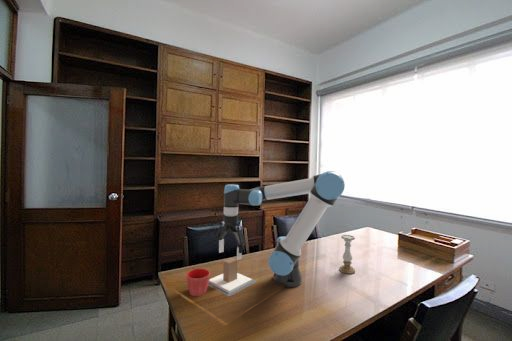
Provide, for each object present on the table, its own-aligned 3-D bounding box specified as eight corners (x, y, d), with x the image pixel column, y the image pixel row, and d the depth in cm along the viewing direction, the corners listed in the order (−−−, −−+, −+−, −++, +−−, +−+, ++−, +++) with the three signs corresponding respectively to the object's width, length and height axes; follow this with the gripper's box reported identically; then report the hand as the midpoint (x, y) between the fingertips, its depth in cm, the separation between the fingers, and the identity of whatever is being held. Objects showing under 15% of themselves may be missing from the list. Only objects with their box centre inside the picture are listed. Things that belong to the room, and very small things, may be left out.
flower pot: (204, 300, 111) (204, 279, 110) (182, 297, 113) (182, 277, 113) (213, 289, 121) (213, 269, 121) (192, 286, 123) (192, 267, 123)
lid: (252, 281, 128) (252, 260, 128) (229, 293, 116) (229, 269, 116) (231, 272, 138) (231, 252, 138) (208, 282, 126) (208, 260, 126)
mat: (257, 282, 128) (257, 281, 128) (228, 298, 113) (229, 296, 113) (231, 271, 141) (231, 269, 141) (202, 283, 126) (202, 282, 126)
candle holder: (356, 274, 139) (357, 239, 138) (340, 273, 141) (341, 238, 140) (353, 268, 148) (354, 235, 147) (338, 267, 149) (339, 233, 149)
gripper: (253, 217, 121) (252, 260, 121) (220, 210, 137) (219, 247, 138) (243, 220, 115) (242, 264, 116) (209, 211, 132) (209, 251, 132)
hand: (229, 255), depth 127 cm, fingers open, 13 cm apart
